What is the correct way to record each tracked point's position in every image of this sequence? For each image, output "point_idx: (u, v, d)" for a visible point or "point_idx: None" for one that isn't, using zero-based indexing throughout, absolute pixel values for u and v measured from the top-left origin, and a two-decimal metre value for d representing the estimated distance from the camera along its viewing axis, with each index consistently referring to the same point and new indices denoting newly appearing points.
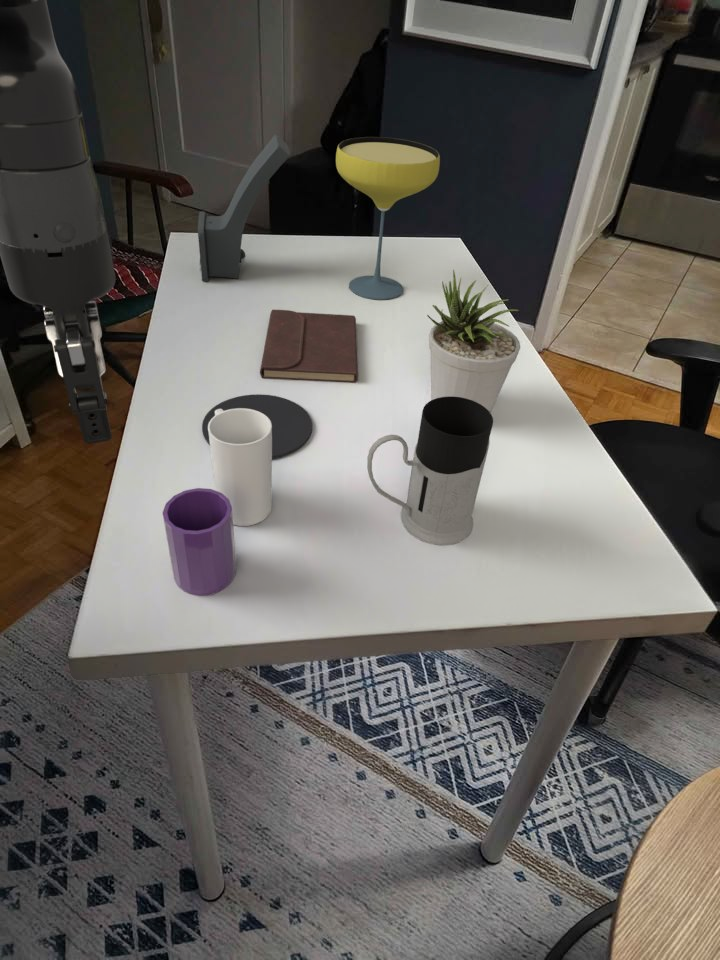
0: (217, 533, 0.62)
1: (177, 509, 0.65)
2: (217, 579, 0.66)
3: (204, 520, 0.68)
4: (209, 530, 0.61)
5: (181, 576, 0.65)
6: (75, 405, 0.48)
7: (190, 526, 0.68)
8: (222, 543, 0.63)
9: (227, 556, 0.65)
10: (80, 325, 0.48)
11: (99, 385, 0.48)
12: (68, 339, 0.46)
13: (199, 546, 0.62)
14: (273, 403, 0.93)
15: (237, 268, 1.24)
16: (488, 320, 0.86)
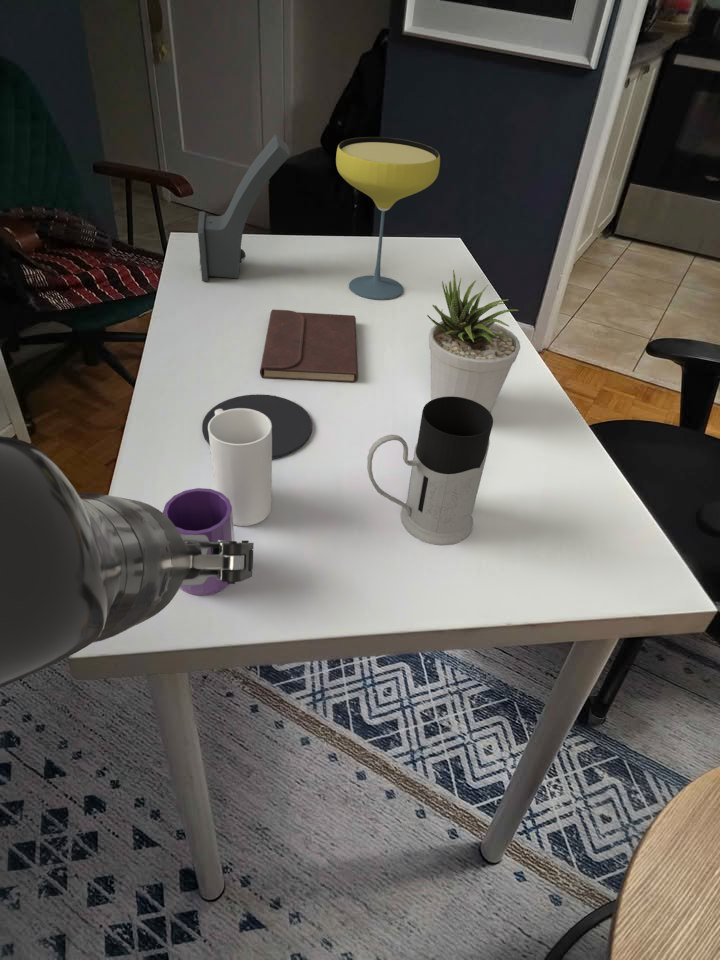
0: (217, 533, 0.62)
1: (177, 509, 0.65)
2: (217, 579, 0.66)
3: (204, 520, 0.68)
4: (209, 530, 0.61)
5: None
6: None
7: (190, 526, 0.68)
8: None
9: None
10: None
11: None
12: None
13: None
14: (273, 403, 0.93)
15: (237, 268, 1.24)
16: (488, 320, 0.86)
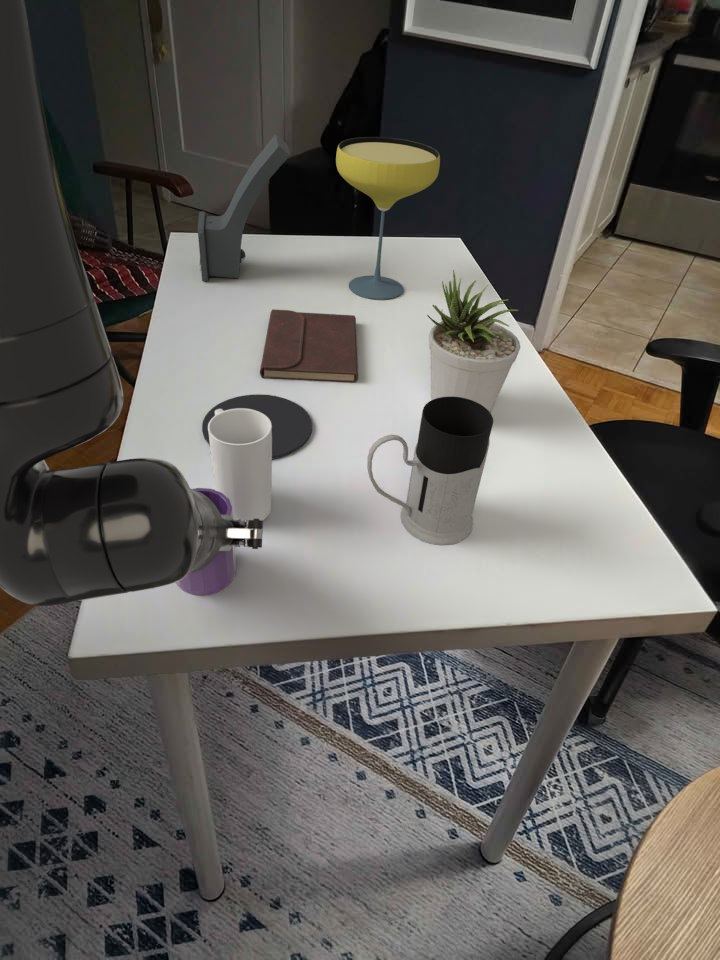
0: None
1: None
2: (217, 579, 0.66)
3: None
4: None
5: None
6: None
7: None
8: None
9: (227, 556, 0.65)
10: None
11: None
12: None
13: None
14: (273, 403, 0.93)
15: (237, 268, 1.24)
16: (488, 320, 0.86)
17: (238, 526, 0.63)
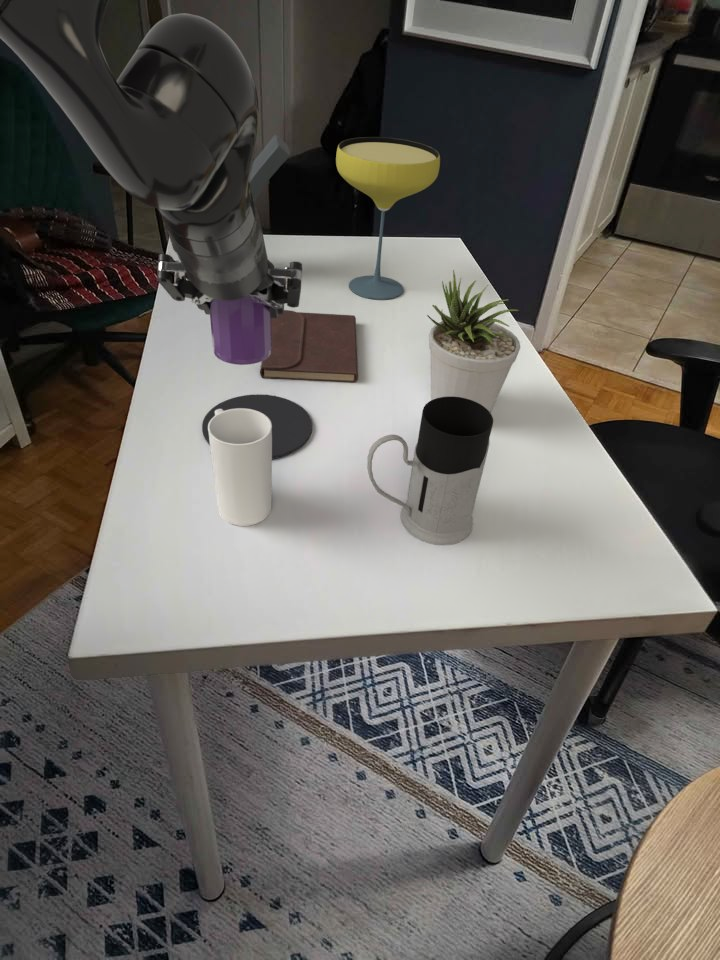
0: None
1: None
2: (255, 347, 0.70)
3: None
4: None
5: (222, 342, 0.69)
6: None
7: None
8: (261, 305, 0.68)
9: (265, 324, 0.69)
10: (184, 272, 0.61)
11: None
12: (161, 262, 0.61)
13: (241, 302, 0.66)
14: (273, 403, 0.93)
15: None
16: (488, 320, 0.86)
17: (277, 287, 0.67)
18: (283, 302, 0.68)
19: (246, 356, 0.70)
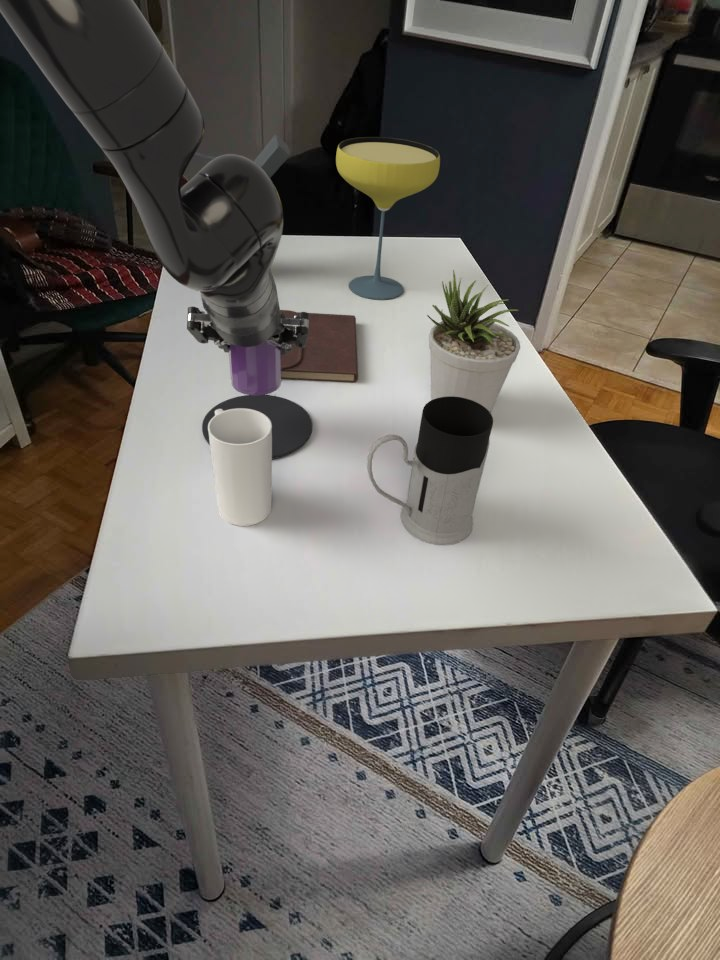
0: None
1: None
2: (268, 380, 0.81)
3: None
4: None
5: (239, 377, 0.81)
6: None
7: None
8: None
9: (277, 361, 0.81)
10: (210, 322, 0.72)
11: (194, 336, 0.76)
12: (190, 314, 0.72)
13: None
14: (273, 403, 0.93)
15: None
16: (488, 320, 0.86)
17: (286, 330, 0.78)
18: (292, 343, 0.79)
19: (260, 388, 0.82)
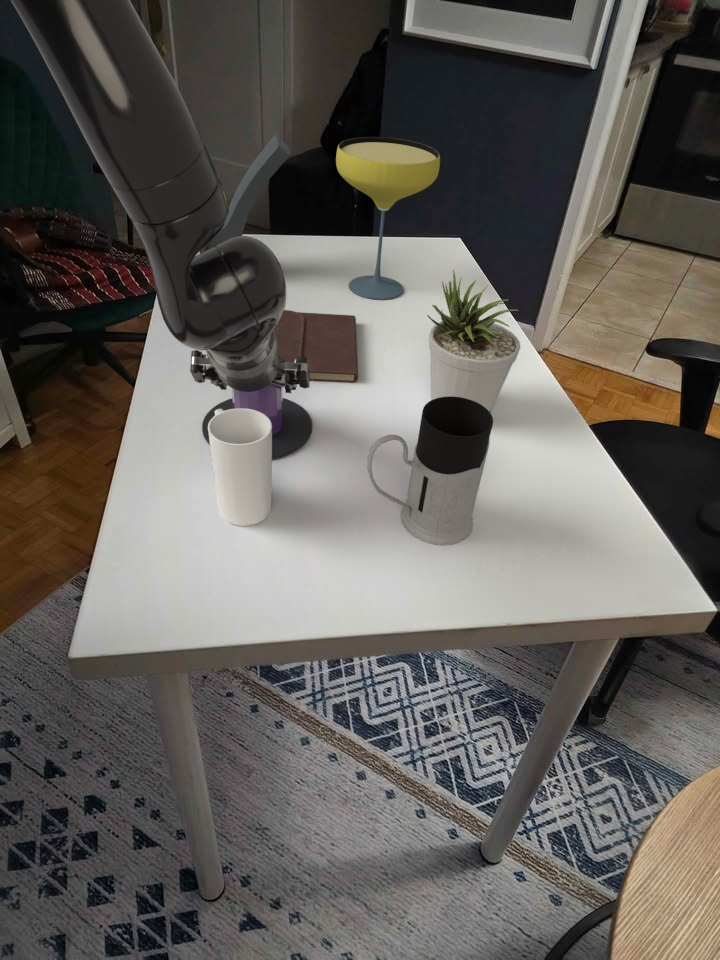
0: None
1: None
2: None
3: None
4: None
5: None
6: None
7: None
8: (275, 392, 0.83)
9: (278, 406, 0.85)
10: (214, 367, 0.76)
11: None
12: (194, 358, 0.76)
13: (258, 392, 0.82)
14: None
15: None
16: (488, 320, 0.86)
17: None
18: (296, 383, 0.82)
19: None
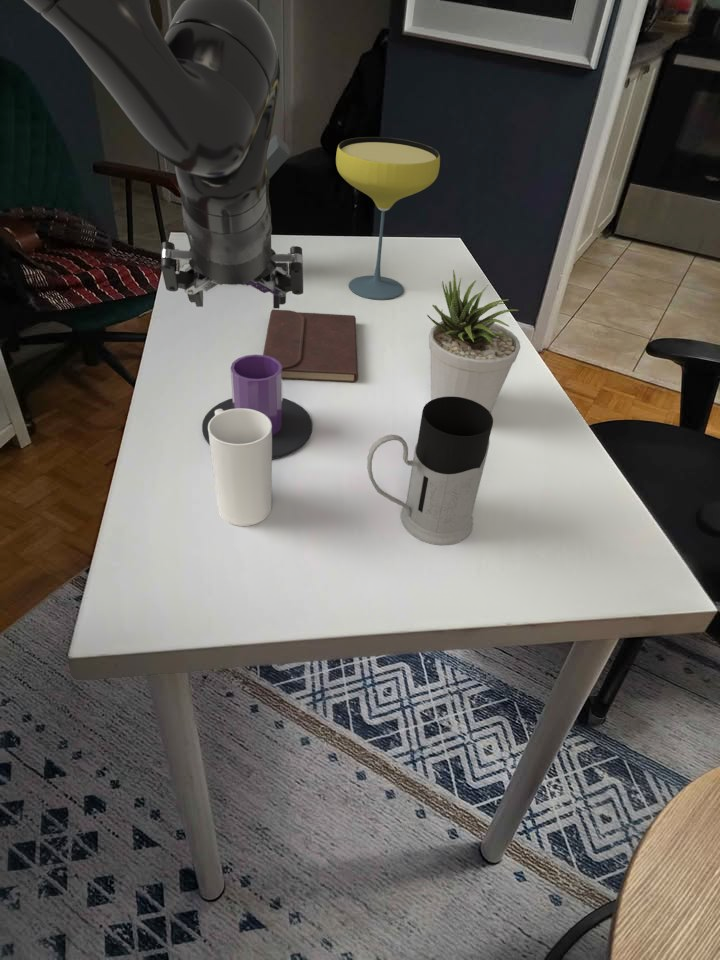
0: (272, 382, 0.82)
1: (239, 370, 0.85)
2: None
3: None
4: (266, 379, 0.81)
5: None
6: None
7: None
8: (275, 392, 0.83)
9: (278, 406, 0.85)
10: (190, 260, 0.63)
11: (164, 280, 0.66)
12: (166, 250, 0.62)
13: (258, 392, 0.82)
14: None
15: None
16: (488, 320, 0.86)
17: (281, 275, 0.69)
18: (287, 290, 0.70)
19: None
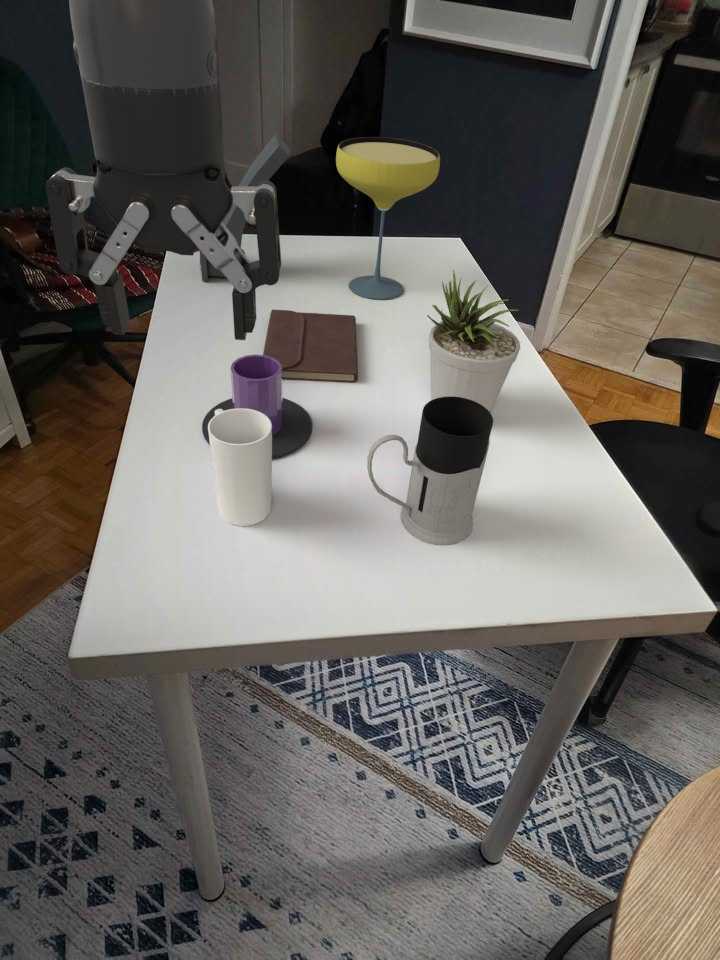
0: (272, 382, 0.82)
1: (239, 370, 0.85)
2: None
3: None
4: (266, 379, 0.81)
5: None
6: None
7: None
8: (275, 392, 0.83)
9: (278, 406, 0.85)
10: (94, 180, 0.39)
11: (54, 237, 0.41)
12: (60, 171, 0.40)
13: (258, 392, 0.82)
14: None
15: None
16: (488, 320, 0.86)
17: (246, 265, 0.44)
18: (255, 282, 0.44)
19: None
